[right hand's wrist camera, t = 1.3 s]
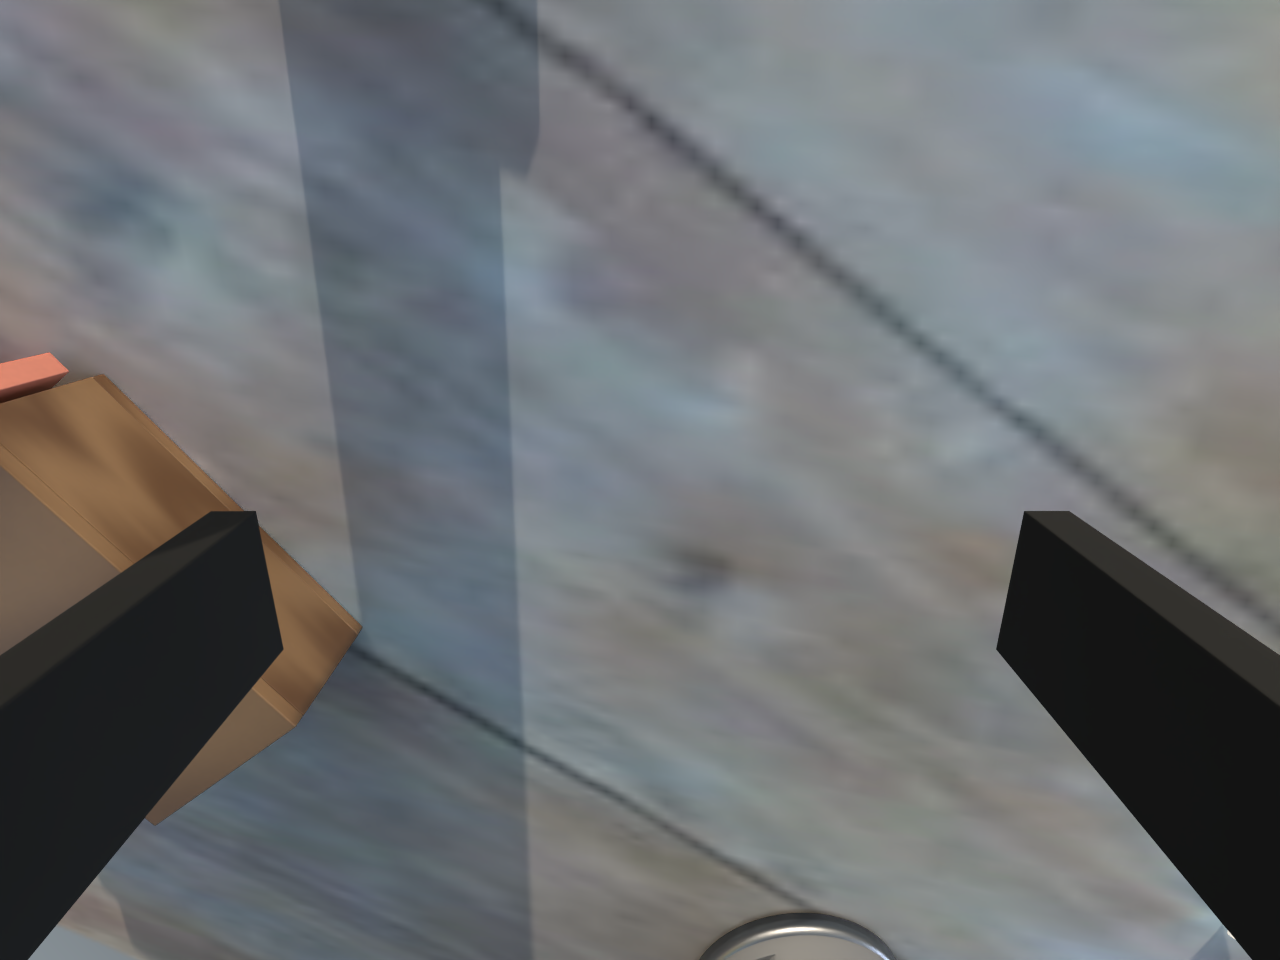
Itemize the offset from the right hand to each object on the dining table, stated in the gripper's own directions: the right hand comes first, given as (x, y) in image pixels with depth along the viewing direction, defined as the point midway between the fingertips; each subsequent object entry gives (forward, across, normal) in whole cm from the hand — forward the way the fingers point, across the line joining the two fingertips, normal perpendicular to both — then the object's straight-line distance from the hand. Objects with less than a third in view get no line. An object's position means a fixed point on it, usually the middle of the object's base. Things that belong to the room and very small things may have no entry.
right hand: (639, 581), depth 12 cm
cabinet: (+25, +26, +12) cm, 38 cm away
